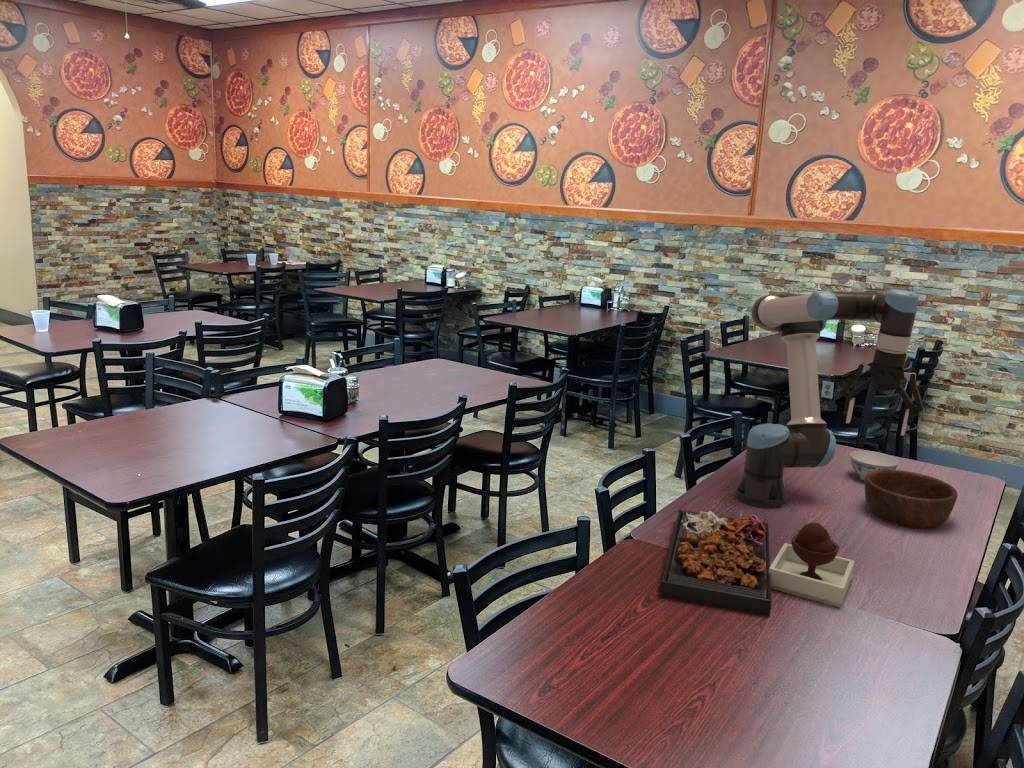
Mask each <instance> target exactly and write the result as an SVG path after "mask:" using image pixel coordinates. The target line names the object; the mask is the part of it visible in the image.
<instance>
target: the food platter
mask: <svg viewBox="0 0 1024 768" xmlns="http://www.w3.org/2000/svg"><path fill="white" fill-rule="evenodd" d="M743 513H744V510H743V509H741V512H740V515H739V516H740V518H737V517H730V516H724V515H718V514H715V513H714V512H713V511H711V510H709V511H707V512H706V511H702V510H701V511H700V512H698V511H697V512H696V511H690V510H686V509H685V510H684V509H678V513H677V516H676V520H675V526H674V530H673V533H672V537H671V543H670V547H669V550H668V554H667V558H666V564H665V568H664V572H663V576H662V580H661V587H660V595H659V597H661V598H666V599H672V600H679V601H683V602H688V603H689V602H690V603H695V604H701V605H703V606H704V605H706V606H711V607H716V608H722V609H727V610H733V611H738V612H745V613H748V614H749V613H750V614H755V615H761V616H766V617H770V614H771V609H772V608H771V607H772V588H771V582H770V573H768V572H769V568H770V566H771V564H770V563H771V562H770V561H771V560H770V537H769V535H770V534H769V533H770V532H769V522H766V517H767V516H768V515H767V514H768V511H766V512H765V515H764V518H763V519H762V520H761V519H759V518H758V516H757V515H755V514H754V513H751V514H750V515H749V516H748V517H744V515H743Z"/></svg>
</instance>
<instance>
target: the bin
mask: <svg viewBox="0 0 1024 768" xmlns="http://www.w3.org/2000/svg"><path fill="white" fill-rule="evenodd" d="M854 567H855V560H853V559H850V558H849V559H848V558H845V557H841V556H837V555H836V557H835V558H834V560H833V561H831V562H830V563H828V564H824V565H820V566H816V568H815V573H816V574H818V575H819V576H820V577H821V578H822V581H821V580H817V579H813V578H810V577H806V576H802V575H800V573H801V572H806V571H808V564H807V563H805V562H803V561H802V560H801V559H800V558H799V557H798V556H797V555H796V553H795V552H794V550H793V547H792V543H787V542H784V543H783V545H782V547H781V548H780V550H779V552H778V553H777V555H776V557H775V558H774V560H773V561H772V563H771V564H770V568H769V572H768V573H770V582H771V590H775V591H778V592H779V591H780V592H783V593H787V594H789V595H793V596H796V597H800V598H804V599H807V600H811V601H814V602H817V603H821V604H825V605H829V606H833V607H834V608H835V607H836V608H840V609H841V608H842V606H843V605H842V604H843V603H844V600H845V597H846V594H847V592H848V589H849V587H850V584H851V581H852V579H853V572H854Z"/></svg>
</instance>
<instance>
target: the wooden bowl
mask: <svg viewBox="0 0 1024 768" xmlns="http://www.w3.org/2000/svg"><path fill="white" fill-rule="evenodd" d="M864 495H865V496H864V497H865V501H866V502H865V503H866V505H867V507H868V509H869V511H870V512H871V513H872V514H873V515H874V516H875V517H877V518H879V519H881V520H882V521H885V522H887V523H889V524H893V525H896V526H900V527H905V528H912V529H918V530H919V529H922V530H923V529H925V530H928V529H934V528H938V527H940V526H941V525H942V524H944V523H945V522H946V520H948V518H949V517H950V516H951V514H952V512H953V510H954V507H955V505H956V502H957V499H958V491H957V490H956V489H955V488H954V487H953V486H952V485H951V484H949V483H947V482H946V481H943V480H940V479H938V478H936V477H933V476H930V475H926V474H923V473H918V472H914V471H909V470H899V469H896V470H877V471H873V472H870V473H868V474H867V475H866V477H865V481H864Z"/></svg>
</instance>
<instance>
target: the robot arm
mask: <svg viewBox="0 0 1024 768" xmlns="http://www.w3.org/2000/svg"><path fill="white" fill-rule="evenodd" d="M918 302H919V295H918V293H916V292H914V291H909V290H903V289H889V290H888V291H887V293H886V294H885V293H883V292H881V291H880V292H879V291H878V290H870V289H864V290H862V291H835V290H834V291H832V290H831V291H830V290H820V291H817V290H816V291H813V292H812V293H809V294H778V293H777V294H776V293H775V294H766V295H763V296H761V297H759V298H758V299H756V301H755V302H754V303H753V304H752V306H751V311H750V312H751V313H750V315H751V319H752V321H753V323H754V324H755V325H756V326H757V327H758V328H760V329H762V330H764V331H768V332H776V333H777V332H780V336H781V337H780V338H781V340H782V341H783V342H784V343H785V344H786V352H787V353H786V355H787V371H788V372H787V373H788V386H789V387H788V388H789V402H790V403H789V405H790V417H791V418H790V420H789V421H788V422H787V423H786V425H783V424H780V423H775V424H774V423H760V424H756V425H755V426H753V427H752V428H751V429H750V430H749V431H748V435H747V439H746V451H745V459H744V468H743V472H742V475H741V477H740V479H739V481H738V483H737V485H736V487H735V493H734V496H735V499H737V500H738V501H739V502H741V503H743V504H746V505H749V506H752V507H756V508H762V509H763V508H764V509H775V508H780V507H781V508H782V507H783V506H785V505H786V501H787V500H786V499H787V494H786V493H787V492H786V488H785V483H784V472H785V469H786V468H793V469H794V468H820V467H821V468H822V467H825V466H827V465H828V464H830V463H831V462H832V459H833V458H834V456H835V453H836V449H837V439H836V437H835V435H834V432H833V431H832V430H830V429H828V427H827V422H826V421H825V420H823V419H822V417H821V404H820V391H819V390H820V389H819V388H820V387H819V373H818V372H819V371H818V360H817V359H818V357H817V345H816V344H817V343H816V342H817V340H819V338H821V332H822V331H824V330H825V328H826V327H827V322H828V321H839V320H841V321H870V322H871V321H872V322H876V323H879V324H880V326H879V330H878V335H877V340H876V349H875V350H874V355H873V358H872V359H873V360H872V364H871V365H868V364H865V363H864V362H861V363H859V365H858V367H857V369H856V372H855V374H854V375H852V377H851V378H850V379H849V380H848V382H847V383H846V384H845V385H844V387H842V388H841V390H840V392H839V395H840V396H843V397H844V398H845V404H844V407H843V409H844V410H845V411H847V414H846V419H845V423H846V424H850V422H851V420H852V416H853V410H854V406H855V401H856V398H855V397H854V396H856V395H857V394H859V393H860V392H861V391H862V390H864V389H866V388H867V387H868V386H870V385H871V384H873V383H876V385H880V386H883V385H884V386H886V387H889V388H890V387H894V389H895V390H896V392H897V393H898V394H899V396H900V398H901V399H902V401H903V403H904V404H905V406H906V407H907V409H906V410H905V413H904V417H903V422H902V425H901V426H902V427H901V433H900V436H903V437H904V436H905V434H906V432H907V425H908V424H912V423H913V421H914V416H915V412H923V410H924V408H925V407H924V403H923V399H922V397H921V394H920V390H919V387H918V384H917V381H916V379H917V372H914V371H913V372H906V371H905V365H906V360H907V353H906V352H908V350H909V348H910V347H909V346H910V342H911V338H912V337H911V336H912V332H913V328H914V323H915V318H916V314H917V311H918ZM866 372H869V373H870V376H871V377H869V378H868V379H866V380H865V381H864V382H863V383H861V384H860V385H858V386H857V387H855V388H854V389H853V390H851V391H850V392H849V390H850V388H852V386H853V385H854V384H855V382H856V381H857V380H858V379H859V378H860V377H861V375H862V374H864V373H866ZM904 378H906V381H907V382H909V386H910V389H911V393H912V396H913V398H914V402H915V403H914V402H913V400H912V399H911V398H910V396H909V394H908V393H907V391H906V390H905V388H904V386H903V384H902V382H901V380H902V379H904Z"/></svg>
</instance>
